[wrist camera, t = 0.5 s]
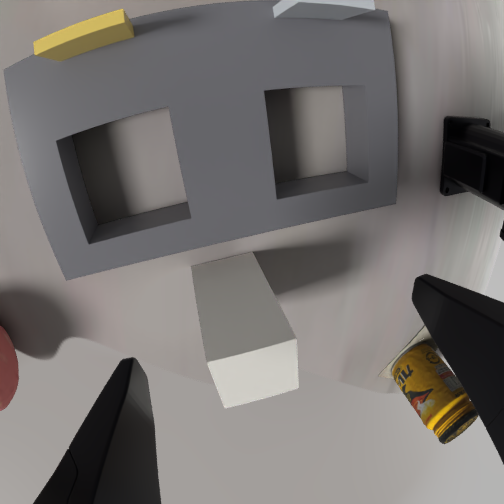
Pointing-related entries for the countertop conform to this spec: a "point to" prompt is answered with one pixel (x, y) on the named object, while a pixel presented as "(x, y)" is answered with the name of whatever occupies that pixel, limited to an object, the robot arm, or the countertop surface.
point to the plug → (244, 331)
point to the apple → (7, 369)
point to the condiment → (432, 388)
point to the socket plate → (204, 119)
